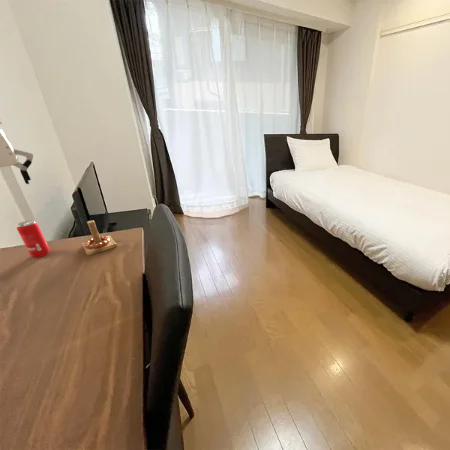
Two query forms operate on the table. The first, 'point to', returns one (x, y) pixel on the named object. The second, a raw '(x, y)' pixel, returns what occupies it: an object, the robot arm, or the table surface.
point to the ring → (88, 245)
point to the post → (97, 240)
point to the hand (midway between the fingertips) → (5, 186)
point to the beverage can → (33, 238)
